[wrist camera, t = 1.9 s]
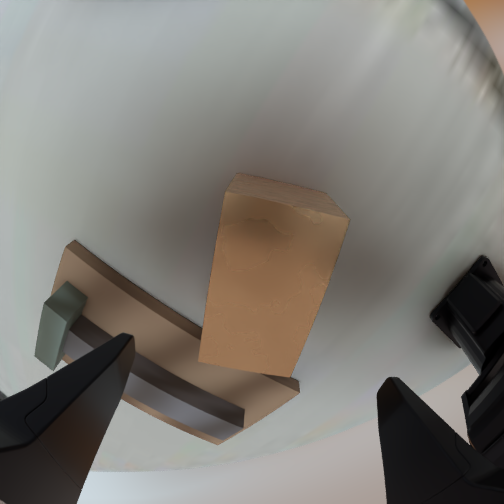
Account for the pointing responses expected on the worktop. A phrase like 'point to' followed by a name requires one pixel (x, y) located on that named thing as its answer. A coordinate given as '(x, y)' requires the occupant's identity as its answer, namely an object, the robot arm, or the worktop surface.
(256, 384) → the rail board
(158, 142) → the worktop surface
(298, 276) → the block
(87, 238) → the worktop surface
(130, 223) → the worktop surface
